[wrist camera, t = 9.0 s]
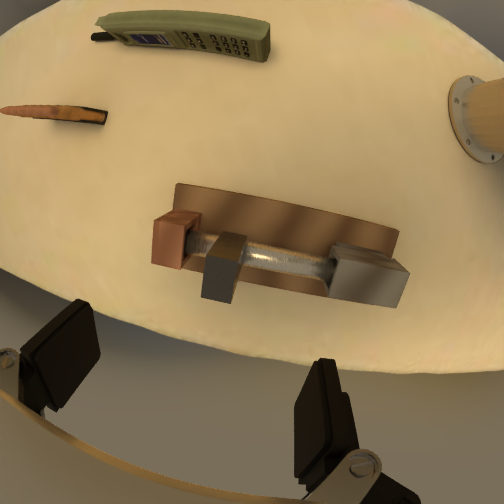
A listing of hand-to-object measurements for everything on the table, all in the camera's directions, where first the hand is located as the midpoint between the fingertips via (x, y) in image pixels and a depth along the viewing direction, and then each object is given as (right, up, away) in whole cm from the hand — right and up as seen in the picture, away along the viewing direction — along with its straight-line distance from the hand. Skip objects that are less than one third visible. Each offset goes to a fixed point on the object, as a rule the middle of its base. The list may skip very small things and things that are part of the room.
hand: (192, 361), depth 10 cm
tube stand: (+6, +5, +22) cm, 23 cm away
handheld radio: (-8, +31, +15) cm, 35 cm away
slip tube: (+4, +4, +18) cm, 19 cm away
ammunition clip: (-21, +23, +18) cm, 36 cm away
